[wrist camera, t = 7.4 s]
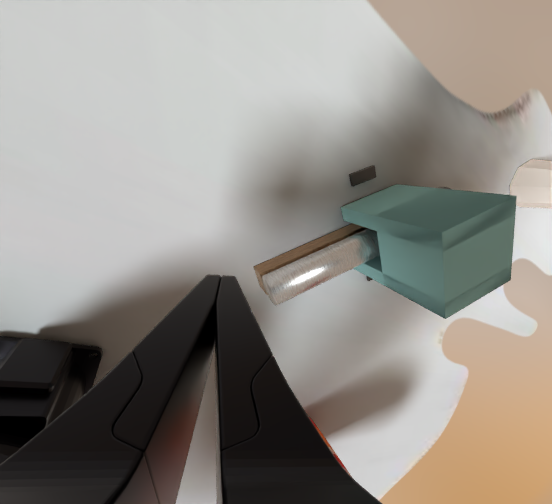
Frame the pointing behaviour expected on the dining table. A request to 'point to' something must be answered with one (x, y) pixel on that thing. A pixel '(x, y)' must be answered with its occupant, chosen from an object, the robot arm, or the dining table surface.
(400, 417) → the dining table surface
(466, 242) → the teal notched block
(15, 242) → the dining table surface
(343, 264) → the pipe rig
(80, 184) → the dining table surface
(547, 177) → the pepper shaker
